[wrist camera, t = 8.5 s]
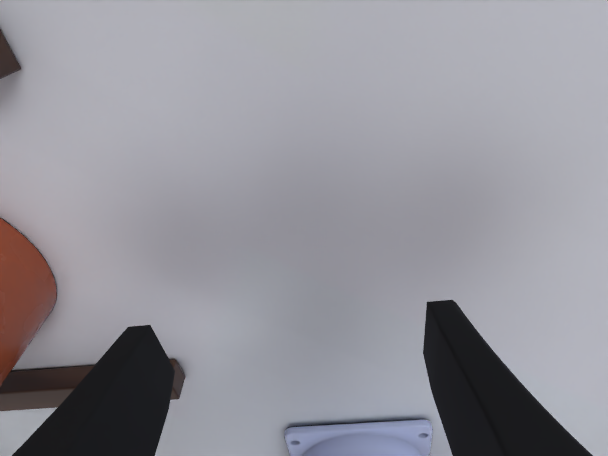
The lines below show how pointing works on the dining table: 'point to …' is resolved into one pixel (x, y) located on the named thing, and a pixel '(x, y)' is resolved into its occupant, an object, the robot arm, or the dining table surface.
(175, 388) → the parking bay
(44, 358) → the dining table surface
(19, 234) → the tin can
